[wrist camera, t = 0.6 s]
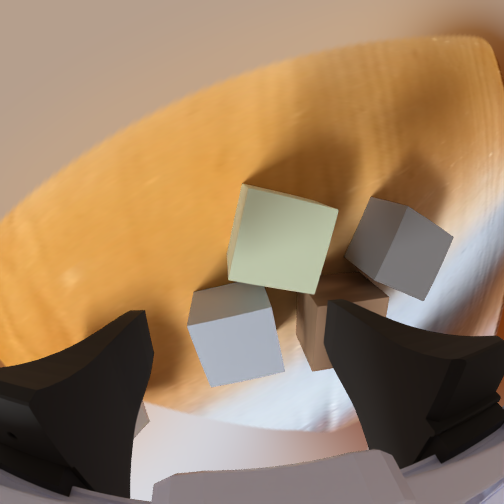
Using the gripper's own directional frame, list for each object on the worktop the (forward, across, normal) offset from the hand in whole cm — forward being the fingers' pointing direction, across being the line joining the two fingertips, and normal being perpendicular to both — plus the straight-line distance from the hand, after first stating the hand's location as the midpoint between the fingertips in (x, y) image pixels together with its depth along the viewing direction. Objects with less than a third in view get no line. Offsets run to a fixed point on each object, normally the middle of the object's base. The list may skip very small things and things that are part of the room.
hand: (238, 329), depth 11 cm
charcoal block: (+10, -12, -1) cm, 15 cm away
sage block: (+10, -3, -2) cm, 11 cm away
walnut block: (+10, -7, +4) cm, 13 cm away
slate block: (+10, 0, +5) cm, 11 cm away
